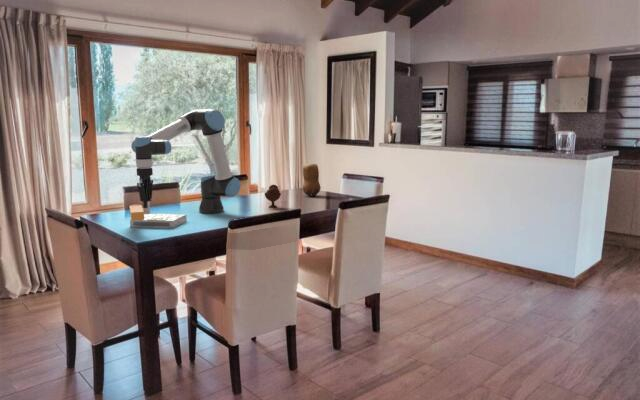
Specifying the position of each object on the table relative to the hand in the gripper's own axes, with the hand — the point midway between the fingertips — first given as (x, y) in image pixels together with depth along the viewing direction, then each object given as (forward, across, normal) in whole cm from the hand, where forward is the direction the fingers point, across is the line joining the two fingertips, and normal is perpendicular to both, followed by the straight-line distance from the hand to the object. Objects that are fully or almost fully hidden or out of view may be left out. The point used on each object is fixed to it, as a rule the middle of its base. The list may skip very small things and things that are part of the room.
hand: (147, 213), depth 246 cm
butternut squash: (+10, -132, +65) cm, 147 cm away
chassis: (+9, -19, -3) cm, 21 cm away
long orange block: (+2, -5, -8) cm, 9 cm away
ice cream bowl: (+10, -80, +47) cm, 93 cm away
